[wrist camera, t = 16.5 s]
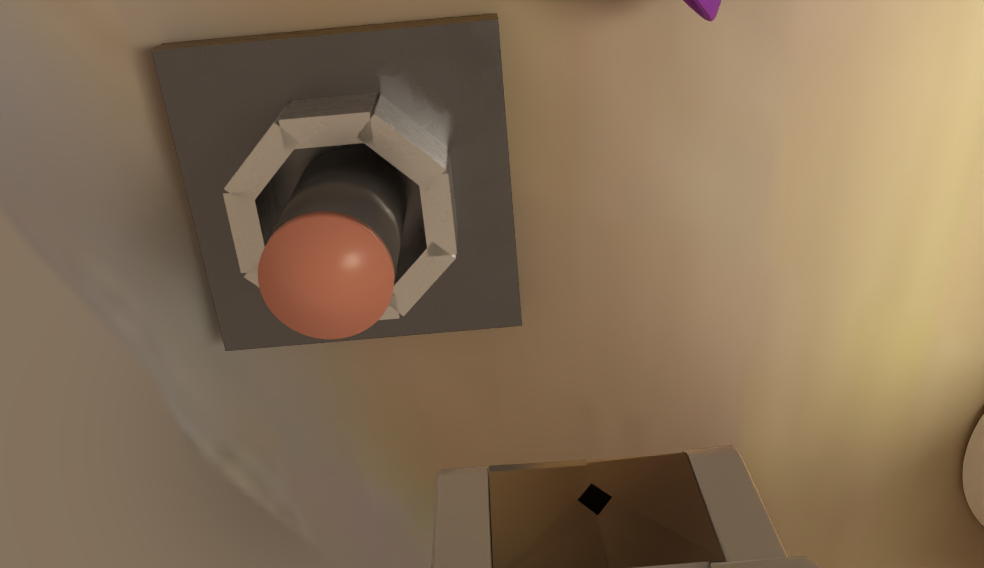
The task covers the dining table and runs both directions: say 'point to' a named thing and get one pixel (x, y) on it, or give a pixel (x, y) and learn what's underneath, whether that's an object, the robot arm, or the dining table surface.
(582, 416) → the dining table surface
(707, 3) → the toy camera
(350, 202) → the dome-topped dark cylinder
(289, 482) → the dining table surface
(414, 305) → the octagon ring plate
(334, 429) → the dining table surface
